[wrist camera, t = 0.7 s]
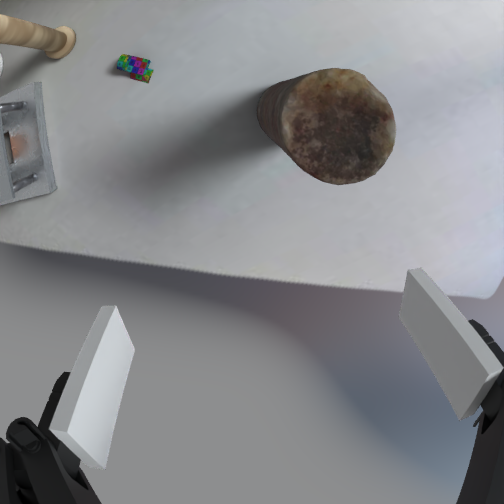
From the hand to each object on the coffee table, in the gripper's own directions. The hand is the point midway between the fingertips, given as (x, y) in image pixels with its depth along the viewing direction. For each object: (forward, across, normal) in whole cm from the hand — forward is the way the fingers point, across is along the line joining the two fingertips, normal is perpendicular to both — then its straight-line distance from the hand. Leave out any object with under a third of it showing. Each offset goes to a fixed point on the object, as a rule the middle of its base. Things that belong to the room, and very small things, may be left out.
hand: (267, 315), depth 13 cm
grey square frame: (+26, -32, +10) cm, 43 cm away
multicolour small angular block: (+28, -11, +15) cm, 33 cm away
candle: (+27, +6, +7) cm, 28 cm away
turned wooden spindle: (+27, -21, +22) cm, 40 cm away
